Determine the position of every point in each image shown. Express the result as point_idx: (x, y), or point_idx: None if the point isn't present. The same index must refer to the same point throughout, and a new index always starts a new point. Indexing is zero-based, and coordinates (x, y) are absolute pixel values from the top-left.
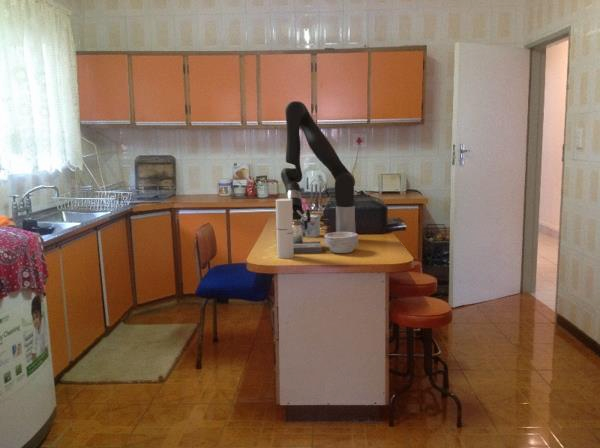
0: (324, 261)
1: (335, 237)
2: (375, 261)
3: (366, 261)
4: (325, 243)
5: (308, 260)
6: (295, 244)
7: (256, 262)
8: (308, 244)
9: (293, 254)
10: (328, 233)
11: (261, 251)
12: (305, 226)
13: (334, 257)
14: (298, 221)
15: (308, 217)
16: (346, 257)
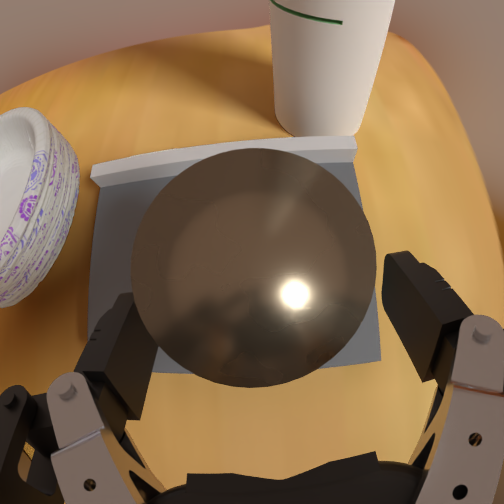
0: (143, 61)
1: (24, 109)
2: (15, 101)
3: (31, 94)
4: (71, 167)
5: (202, 61)
6: (266, 139)
7: (408, 52)
8: (172, 150)
9: (274, 100)
10: (4, 236)
11: (476, 232)
12: (124, 298)
13: (90, 114)
14: (209, 340)
15: (12, 424)
16: (54, 123)
